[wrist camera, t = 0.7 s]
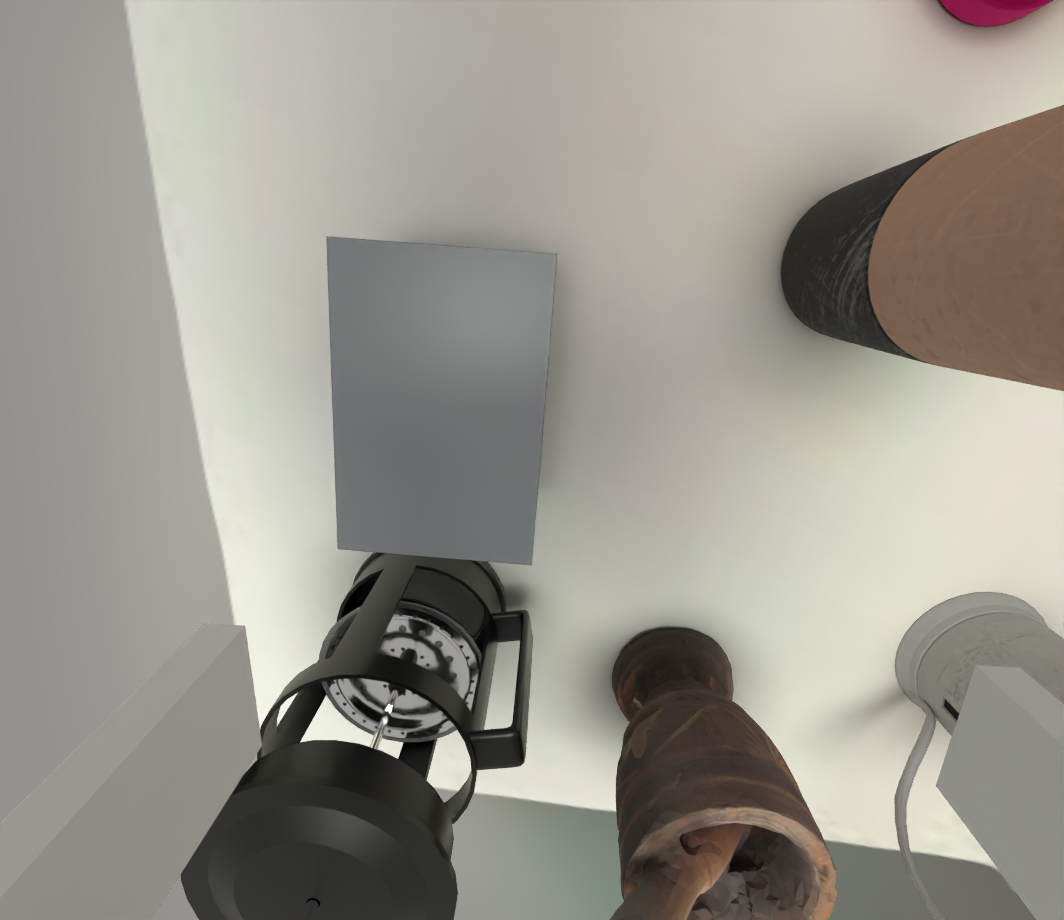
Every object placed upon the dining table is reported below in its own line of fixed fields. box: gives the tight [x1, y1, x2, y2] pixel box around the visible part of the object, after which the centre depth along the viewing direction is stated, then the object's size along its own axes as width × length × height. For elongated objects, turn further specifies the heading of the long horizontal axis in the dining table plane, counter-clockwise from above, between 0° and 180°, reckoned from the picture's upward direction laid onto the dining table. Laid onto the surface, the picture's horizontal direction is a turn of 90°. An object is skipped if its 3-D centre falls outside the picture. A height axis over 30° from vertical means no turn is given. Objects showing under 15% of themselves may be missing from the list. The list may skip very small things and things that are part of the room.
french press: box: [181, 552, 533, 920], centre depth 23 cm, size 12×9×23 cm
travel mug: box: [782, 105, 1064, 391], centre depth 18 cm, size 8×8×20 cm
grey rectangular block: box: [326, 236, 557, 565], centre depth 25 cm, size 12×8×9 cm, turn 176°
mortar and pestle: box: [610, 629, 838, 920], centre depth 26 cm, size 12×9×20 cm
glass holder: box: [895, 592, 1064, 920], centre depth 27 cm, size 9×14×15 cm, turn 120°
